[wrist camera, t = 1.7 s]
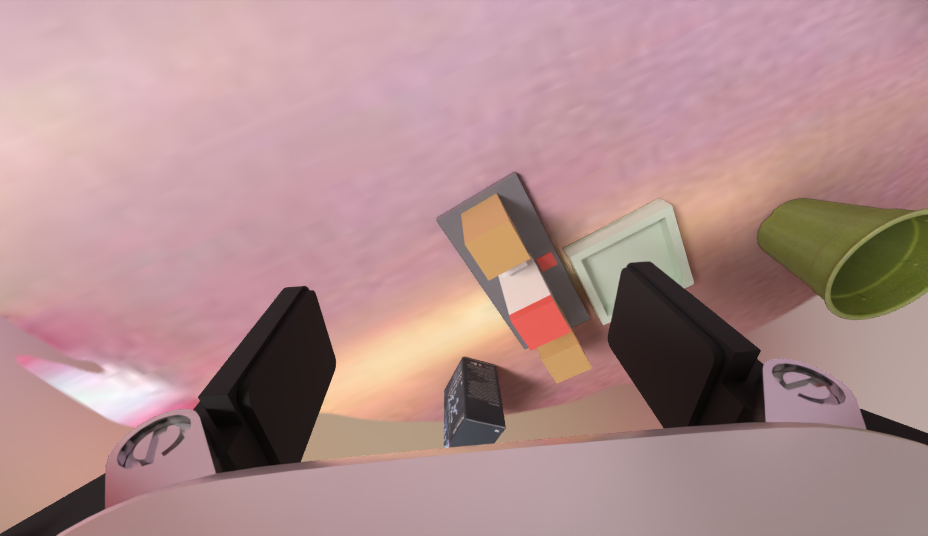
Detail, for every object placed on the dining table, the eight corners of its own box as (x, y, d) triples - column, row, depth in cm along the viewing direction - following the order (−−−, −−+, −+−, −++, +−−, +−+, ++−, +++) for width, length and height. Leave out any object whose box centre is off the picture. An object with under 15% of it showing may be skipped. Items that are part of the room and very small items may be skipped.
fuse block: (514, 171, 36) (533, 196, 28) (587, 314, 46) (617, 362, 38) (436, 217, 38) (434, 253, 30) (523, 344, 48) (538, 395, 40)
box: (461, 355, 49) (465, 419, 39) (496, 364, 50) (508, 428, 41) (442, 390, 52) (442, 456, 43) (475, 398, 53) (482, 464, 44)
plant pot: (850, 224, 41) (977, 269, 31) (756, 282, 45) (843, 338, 35) (824, 153, 37) (963, 180, 27) (721, 224, 40) (810, 270, 31)
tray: (659, 198, 38) (672, 205, 36) (681, 273, 43) (694, 284, 41) (563, 248, 41) (569, 257, 39) (595, 313, 46) (603, 325, 44)
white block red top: (529, 252, 40) (553, 300, 31) (544, 279, 42) (571, 331, 33) (496, 269, 41) (510, 321, 32) (512, 295, 43) (530, 350, 34)
